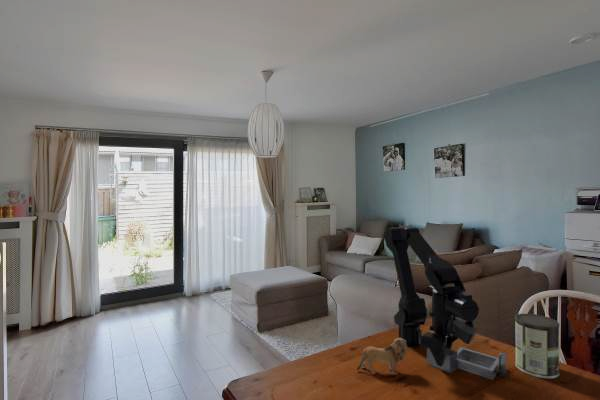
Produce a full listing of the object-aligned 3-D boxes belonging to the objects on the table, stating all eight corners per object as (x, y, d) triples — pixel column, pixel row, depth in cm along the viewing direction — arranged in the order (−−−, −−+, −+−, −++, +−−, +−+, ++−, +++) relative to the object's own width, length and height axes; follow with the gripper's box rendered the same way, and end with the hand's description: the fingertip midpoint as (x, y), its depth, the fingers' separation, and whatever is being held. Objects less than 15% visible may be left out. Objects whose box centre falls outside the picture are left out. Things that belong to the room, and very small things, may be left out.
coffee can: (547, 361, 98) (547, 314, 98) (567, 380, 88) (567, 328, 88) (508, 358, 101) (508, 312, 100) (524, 377, 90) (524, 325, 90)
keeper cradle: (450, 365, 97) (450, 345, 97) (460, 354, 103) (460, 335, 103) (502, 383, 88) (502, 360, 87) (510, 369, 94) (510, 348, 94)
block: (426, 363, 98) (426, 346, 98) (434, 359, 101) (434, 342, 100) (449, 373, 93) (449, 355, 92) (457, 368, 95) (457, 351, 95)
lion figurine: (403, 364, 98) (403, 334, 98) (410, 374, 92) (410, 342, 92) (354, 367, 97) (353, 336, 97) (358, 377, 91) (358, 344, 91)
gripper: (461, 325, 84) (461, 387, 84) (483, 307, 97) (482, 360, 98) (418, 315, 92) (418, 371, 92) (444, 299, 105) (444, 348, 105)
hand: (442, 362), depth 96 cm, fingers open, 4 cm apart
